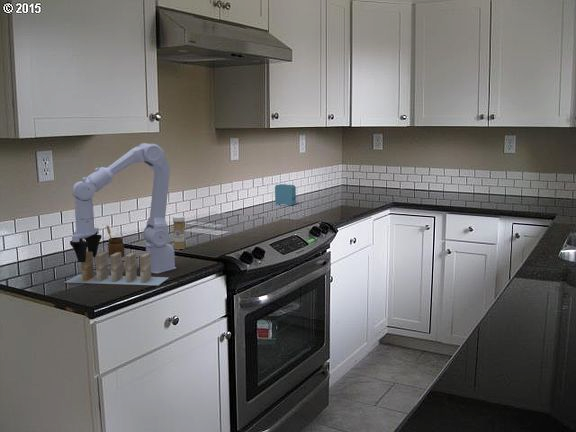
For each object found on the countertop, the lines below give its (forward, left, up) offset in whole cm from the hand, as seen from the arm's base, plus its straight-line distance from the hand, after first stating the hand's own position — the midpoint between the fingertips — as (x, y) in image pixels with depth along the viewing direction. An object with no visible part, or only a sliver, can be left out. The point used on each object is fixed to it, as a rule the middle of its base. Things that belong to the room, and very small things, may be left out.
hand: (87, 259), depth 209 cm
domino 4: (-7, +13, -7) cm, 16 cm away
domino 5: (-9, +18, -7) cm, 21 cm away
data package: (-177, -51, -7) cm, 184 cm away
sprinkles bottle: (-52, -11, -7) cm, 53 cm away
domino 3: (-4, +9, -7) cm, 12 cm away
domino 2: (-2, +4, -7) cm, 8 cm away
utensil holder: (-29, -22, -7) cm, 37 cm away
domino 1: (0, 0, -7) cm, 7 cm away
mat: (-4, +9, -7) cm, 12 cm away
